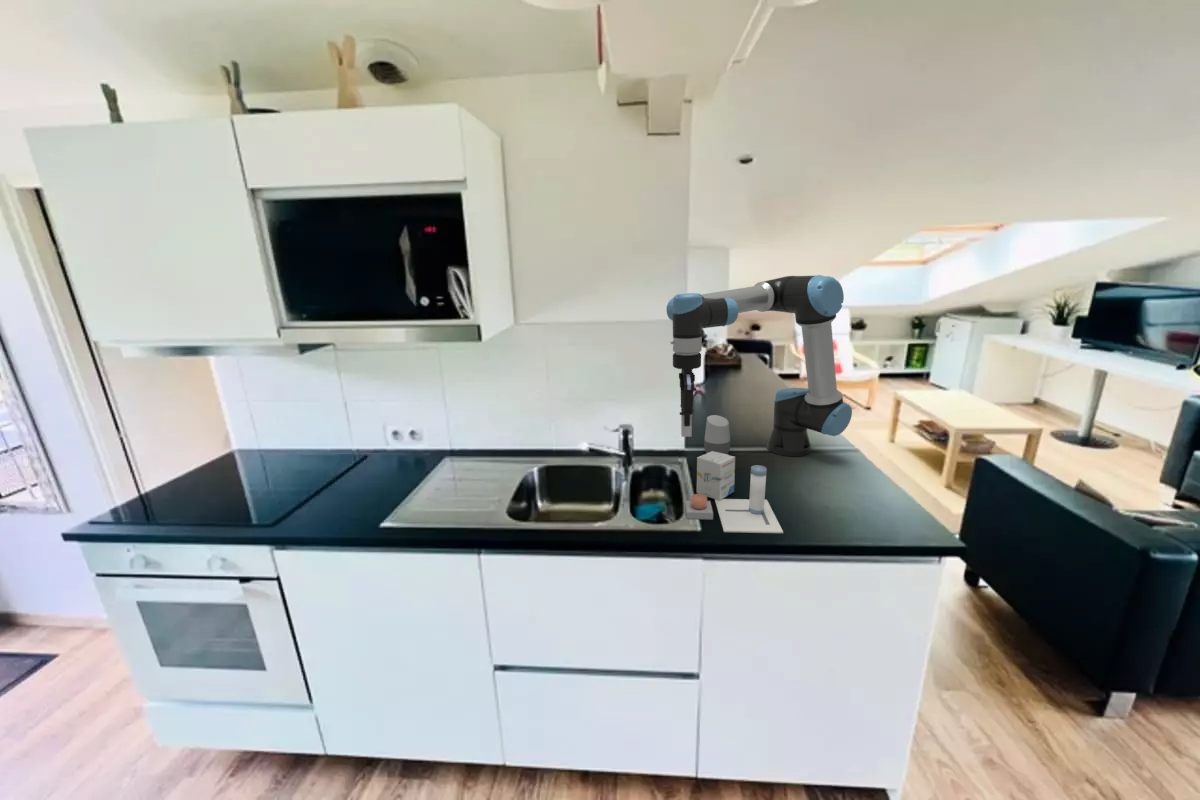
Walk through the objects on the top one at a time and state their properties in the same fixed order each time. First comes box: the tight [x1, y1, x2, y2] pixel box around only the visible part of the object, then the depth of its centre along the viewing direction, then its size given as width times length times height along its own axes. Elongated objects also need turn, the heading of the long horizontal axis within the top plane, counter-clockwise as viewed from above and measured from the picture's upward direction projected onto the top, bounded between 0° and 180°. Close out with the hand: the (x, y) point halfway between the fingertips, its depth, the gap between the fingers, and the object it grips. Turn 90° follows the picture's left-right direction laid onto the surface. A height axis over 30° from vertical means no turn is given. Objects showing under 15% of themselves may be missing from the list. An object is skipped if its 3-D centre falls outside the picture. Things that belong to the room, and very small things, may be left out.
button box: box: [684, 500, 714, 520], centre depth 136 cm, size 7×7×2 cm
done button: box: [690, 493, 708, 509], centre depth 136 cm, size 4×4×4 cm
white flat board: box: [714, 498, 784, 534], centre depth 134 cm, size 18×15×1 cm
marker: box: [749, 464, 768, 514], centre depth 134 cm, size 4×4×13 cm
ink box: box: [696, 451, 736, 500], centre depth 147 cm, size 9×8×12 cm
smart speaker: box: [703, 414, 731, 455], centre depth 177 cm, size 10×9×14 cm
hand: (686, 435), depth 136 cm, fingers closed
